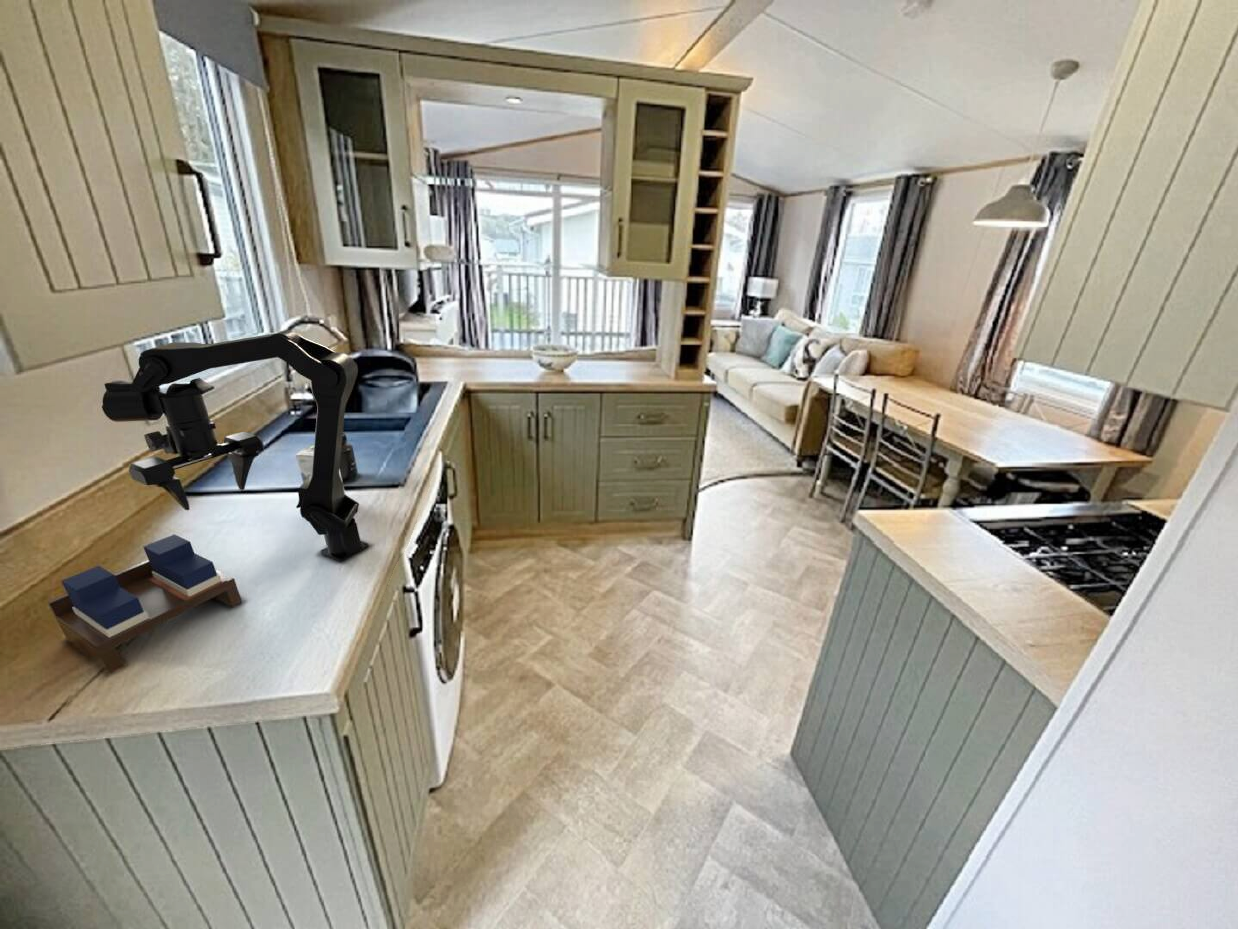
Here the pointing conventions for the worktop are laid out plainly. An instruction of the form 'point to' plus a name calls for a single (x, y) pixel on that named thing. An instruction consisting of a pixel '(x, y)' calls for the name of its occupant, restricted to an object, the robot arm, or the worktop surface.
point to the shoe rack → (153, 599)
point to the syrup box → (307, 462)
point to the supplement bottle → (347, 462)
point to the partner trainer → (103, 601)
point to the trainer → (180, 565)
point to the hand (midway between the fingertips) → (215, 499)
